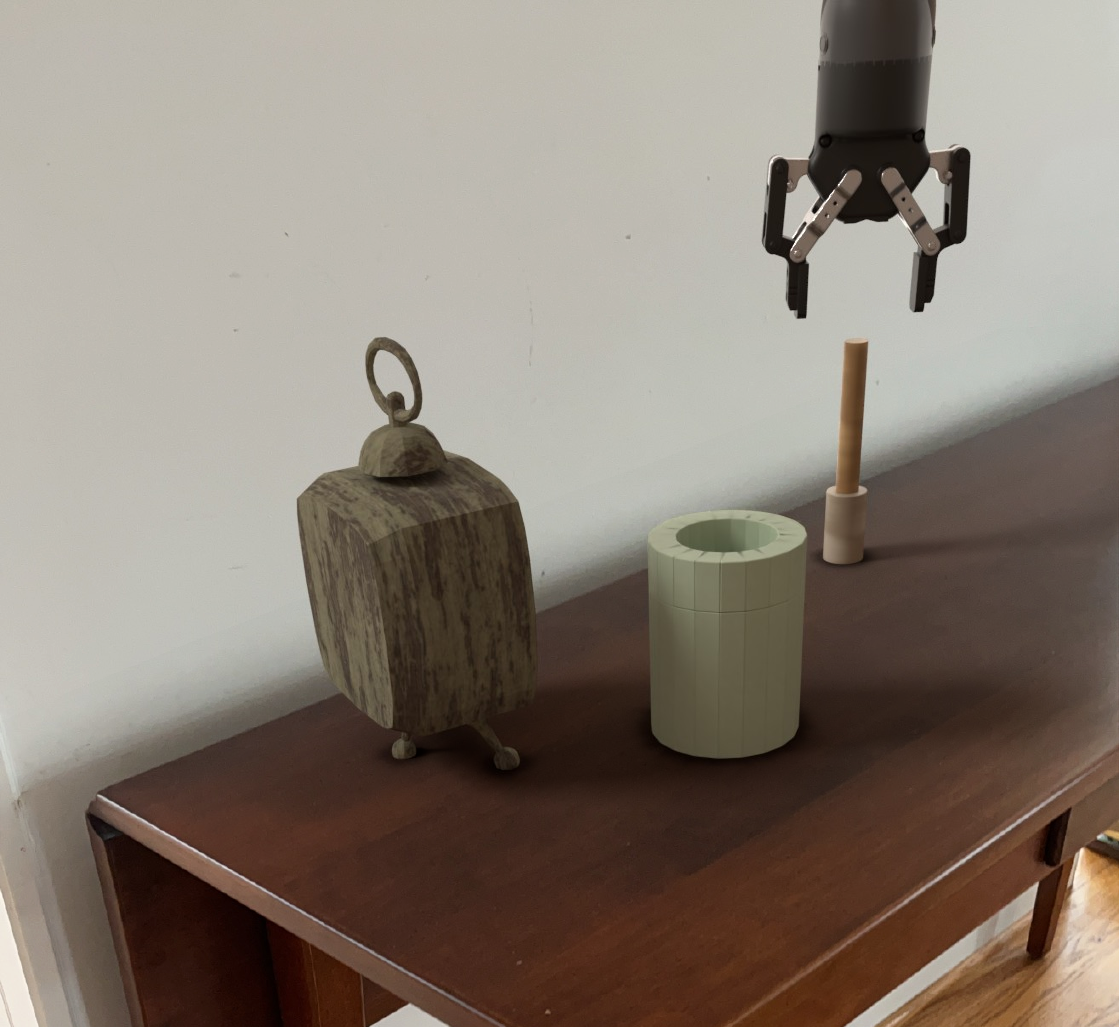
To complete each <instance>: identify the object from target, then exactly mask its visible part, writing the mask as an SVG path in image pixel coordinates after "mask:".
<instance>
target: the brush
mask: <svg viewBox="0 0 1119 1027" xmlns="http://www.w3.org/2000/svg"><path fill="white" fill-rule="evenodd" d="M868 356H869V339H868V338H865V337H864V338H863V337H850V338H847V339H844V340H843V353H842V368H841V369H842V370H841V386H840V387H841V388H840V389H841V390H840V404H839V423H838V437H837V438H838V442H837V459H836V474H835V475H836V476H835V485H833V486H830V487H828V488H827V489H826V491H825V492H826V494H825V509H824V510H825V513H824V530H823V531H824V532H823V548H822V550H823V551H822V559H823V560H824V561H826V562H828V563H831V564H834V565H835V564H836V565H850V564H855V563H859V562H861V561H862V560H863V559H864V549H865V534H866V520H867V519H866V518H867V506H868V489H867V488H866V487H865V486H862V485H860V476H861V475H860V474H861V463H862V462H861V461H862V447H863V446H862V445H863V432H864V431H863V430H864V414H865V399H866V398H865V397H866V386H867V382H866V381H867V372H868V371H867V370H868Z"/></svg>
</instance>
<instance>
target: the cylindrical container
mask: <svg viewBox="0 0 1119 1027" xmlns="http://www.w3.org/2000/svg"><path fill="white" fill-rule="evenodd" d="M807 552H808V533H807V531H806V528H805V526H804V525H802V523H799V522H798V521H797V520H795V519H792V518H789V517H786V516H783V515H780V514H776V513H772V512H767V511H759V510H747V509H720V510H719V509H718V510H705V511H699V512H693V513H687V514H683V515H680V516H676V517H672V518H670V519H666V520H665V521H663V522H661V523H659V524H657V525H655V526H654V527H653V529H651V531H650V532H649V533H647V564H648V565H647V571H648V574H647V575H648V576H647V577H648V581H647V582H648V625H649V626H648V628H649V630H648V632H649V672H650V673H649V676H650V724H651V733H652V735H653V736H654V737H655V739H657V741H658V742H659V743H660V744H661V745H663V746H665V747H667V748H669V749H671V750H672V751H674V752H678V753H682V754H685V755H689V756H693V757H698V758H707V759H708V758H710V759H720V760H721V759H739V758H740V759H741V758H747V757H751V756H757V755H761V754H765V753H768V752H772V751H773V750H776V749H778V748H781V747H782V746H784V745H786V744H788V742H789V741H791V740H792V739H793V738H794V737H795V736H796V733H797V731H798V729H799V726H800V706H801V705H800V704H801V686H802V684H801V683H802V682H801V681H802V663H803V644H804V643H803V639H804V618H805V600H806V599H805V598H806V597H805V595H806V579H807V578H806V574H807V556H808V555H807V554H808V553H807Z"/></svg>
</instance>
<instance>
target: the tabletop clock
mask: <svg viewBox="0 0 1119 1027" xmlns="http://www.w3.org/2000/svg"><path fill="white" fill-rule="evenodd" d="M379 351H385V352H386V353H387V352H388V353H390V354H391V355H393V356H394V357H396V359H397V360H398V361H399V362H400V363H401V365H402V366H403V368H404V370H405V372H406V374H407V376H408V379H409V382H410V384H411V385H412V391H413V405H412V407H411V408H410V409H406V402H405V396H404V395H403V394H402V392H400V391H395V390H394V391H391V392H389V393H387V395H386V396H385V395H384V393H383V391H382V390H381V389H380V387H379V386H378V384H377V381H376V377H375V372H374V370H375V369H374V364H375V358H376V356H377V354H378V352H379ZM364 359H365V360H364V364H365V366H364V367H365V375H366V379H367V383H368V386H369V389H370V392H371V395H372V397H373V400H374V402H375V403H376V404H377V406H378V407H379V408H380V410H381V411H382V412H383V413H384V414H386V415H387V418H388V424H384V425H381V426H380V427H378V428H376V429H375V430H372V431H371V432H370V433H369V435H367V437H366V439H365V440H364V441H363V444H362V446H361V448H360V452H359V458H358V463H357V464H358V465H356V466H351V467H347V468H341V469H336V470H332V471H327V472H324V473H322V474H321V475H319V476H318V477H317V478H316V479H315V480H313V481H312V483H311V484H310V485H309V486H308V487H307V488H305V490H304V491H302V493H301V494H299V496H298V497H297V498H296V516H297V517H296V518H297V527H298V536H299V543H300V549H301V555H302V562H303V570H304V575H305V582H306V588H307V594H308V599H309V605H310V610H311V616H312V622H313V625H314V632H315V636H316V641H317V646H318V650H319V654H320V657H321V661H322V664H323V667H324V671H325V672H326V673H327V675H328V677H329V679H330V680H331V682H332V683H333V685H334V686H335V687H336V688H337V689H338V690H339V691H340V692H341V693H342V694H343V695H344V696H345V697H346V698H347V699H348V700H349V701H350V702H351V703H352V704H353V705H354V706H355V707H356V708H357V709H358V710H359V711H361V712H362V713H363V714H365V715H366V716H367V717H368V718H370V719H371V720H373V722H375V723H376V724H378V725H379V726H381V727H382V728H384V729H388V730H391V731H395V732H400V733H401V738H398V739H396V740H395V741H394V743H393V745H392V747H391V754H392V757H393V758H394V759H397V760H408V759H411V758H413V757H414V756H416V755H417V747H416V745H415V743H414V741H413V740H412V739H411V735H412V736H416V737H426V736H430V735H433V734H437V733H440V732H444V731H447V730H451V729H454V728H458V727H461V726H464V725H468V726H470V727H471V728H473V729H474V730H475V731H476V732H477V733H478V734H479V735H480V736H481V737H482V738H483V739H484V740H485V742H486V743H487V744H488V745H489V746H490V747H491V748H492V750H493V751H494V752H495V754H494V757H493V762H494V765H495V767H496V769H499V770H502V771H509V770H513V769H516V768H518V767H519V765H520V762H521V758H520V756H519V754H518V751H517V750H516V749H515V748H512V747H509V746H503V745H502V743H501V742H500V740H499V738H498V737H497V735H496V733H495V731H494V730H493V729H492V727H491V725H490V723H489V720H488V718H491V717H494V716H499V715H502V714H506V713H508V712H512V711H515V710H518V709H522V708H525V707H528V706H532V705H534V704H535V699H536V698H535V697H536V693H537V688H538V686H537V685H538V639H537V613H536V602H535V592H534V584H533V574H532V565H531V557H530V556H531V555H530V550H529V543H528V537H527V530H526V526H525V522H524V519H523V514H522V510H521V506H520V501H519V500H518V499H517V497H516V496H515V494H514V493H513V492H512V490H511V489H510V488H509V486H508V485H507V484H506V483H505V482H503V480H502V479H501V478H499V477H497V475H495V474H494V473H493V472H490V471H489V470H487V469H486V468H484V467H483V466H481V465H479V464H478V463H476V462H475V461H473V460H472V459H471V458H469V457H465V456H463V455H460V454H456V453H455V452H450V451H448V450H444V449H443V447H442V445H441V443H440V441H439V440H438V438H437V436H436V435H435V434H434V433H433V431H431V430H430V429H429V428H428V427H426V426H425V425H422V424H419V423H416V422H415V423H414V422H413V421H415V420H417V419H418V418H419V416H420V414H421V410H422V408H423V389H422V384H421V380H420V376H419V372H418V369H417V367H416V364H415V363H414V360H413V358H412V357H411V355H410V354H409V352H408V351H407V349H406V348H405V347H404V346H403V345H402V344H400V342H398V341H396V340H394V339H391V338H389V337H386V336H379V337H374V339H373V340H371V341H370V343H369V344H368V345H367V348H366V351H365V358H364Z"/></svg>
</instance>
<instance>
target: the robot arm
mask: <svg viewBox="0 0 1119 1027" xmlns="http://www.w3.org/2000/svg"><path fill="white" fill-rule="evenodd" d="M820 10H821V11H820V21H819V44H818V61H817V62H818V64H817V80H816V81H817V82H816V105H815V123H814V124H815V126H814V127H815V128H814V142H813V146H812V149H811V152H810V153H809V155H808V157H784V156H782V155H781V154H774V155H772V156H770V157H769V159H768V161H767V171H766V184H765V194H764V195H765V196H764V207H763V218H762V228H761V229H762V230H761V232H762V233H761V244H762V247H763V248H764V249H765V252H766V253H768V254H769V255H773V256H774V255H775V256H778V257H781V258H783V259H784V260H785V261H786V275H785V276H786V277H785V303H786V306H787V308H788V310H789V311H790V312H792V311H793V316H794V317H795V320H806V319H807V315H808V297H809V296H808V295H809V278H810V277H809V276H810V274H809V273H810V263H809V262H808V260H807V256H808V255H809V254H810V252H811V251H812V249H813V248H814V246H815V245H816V243H817V242H818V240H819V239H820V238H821V237H823V235H824V234H825V233H826V232H827V231H828V229H829V228H830V226H831V225H832V223H834V221H835V220H837V221H838V222H840V223H842V224H843V225H850V224H851V225H852V224H853V225H854V224H857V223H861V222H863V221H871V222H875V223H889V220H891V219H893V218H894V217H896V216H898V218H899V219H900V221H901V223H902V224H903V225H904V227H905V228H906V229H907V231H908V233H909V235H910V236H911V238H912V240H913V241H914V243H915V244H916V246H917V249H916V250H917V251H914V252H913V254H912V255H913V257H912V268H911V277H910V278H911V279H910V289H909V290H910V291H909V299H908V300H909V301H908V304H909V305H908V306H909V310H910V311H911V312H912V313H924V310H925V305H926V304H931V302H932V300H933V299H934V296H935V289H936V288H935V287H936V276H937V266H938V258H939V255H940V253H941V252H943V250H945V249H947V248H948V247H952V246H954V245H960V244H962V243H963V242H964V241H965V240H966V238H967V235H968V218H969V217H968V214H969V196H970V178H971V160H972V158H971V156H972V155H971V152H970V150H969V149H968V148H967V147H964V146H963V145H961V144H959V143H953V144H951V145H950V146H949V147H948V148H943V149H934V150H929V148H928V146H927V140H926V131H927V119H928V109H929V97H930V84H931V76H932V75H931V73H932V61H933V52H934V47H935V44H936V36H937V30H936V16H937V0H822V3H821V9H820ZM930 169H933V170H934V172H935V178H936V180H937V181H938V182H940V183H941V184H943V185H944V188H943V212H942V225H940V226H937V227H936V228H932V227H931V225H930V223H929V221H928V220H927V216H926V215H925V214H924V212H923V210H922V209H921V207H920V205H919V204H918V202H917V201H916V198H914V196H913V193H914V192H915V191H916V188H918V187H919V185H920V183H921V182H922V181H923V179H924V178H925V176H926V175H927V173H928V171H929V170H930ZM804 176H807V179H808V180H809V181H810V183H811V185H812V186H813V188H814V190H815V191H816V194H818V196H817V198H816V199H815V201H814V202H813V204H812V205H811V206H810V208H809V210H808V211H807V212H806V213H805V215H804V217H803V219H802V222H800V224H799V226H798V227H797V229H796V230H795V231H794V233H793V235H792V236H787V235H784V226H785V216H786V204H787V194H790V193H793V192H794V191H795V190H796V189H797V187H798V183H799V181H800V179H801V178H802V177H804Z"/></svg>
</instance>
